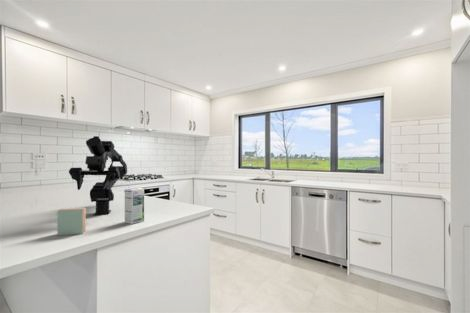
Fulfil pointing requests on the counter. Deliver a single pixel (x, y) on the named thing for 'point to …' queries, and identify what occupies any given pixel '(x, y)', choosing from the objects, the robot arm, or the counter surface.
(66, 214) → the tile
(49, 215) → the counter surface
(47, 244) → the counter surface
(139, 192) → the syrup box
